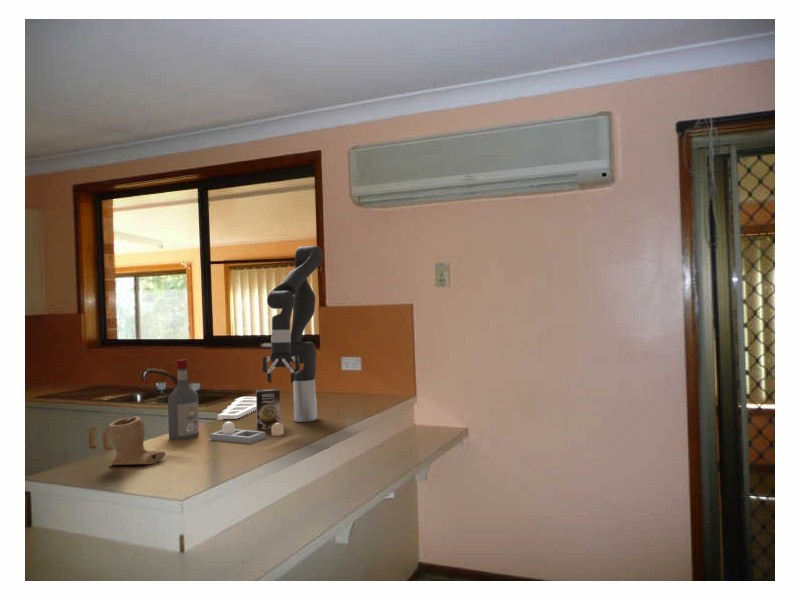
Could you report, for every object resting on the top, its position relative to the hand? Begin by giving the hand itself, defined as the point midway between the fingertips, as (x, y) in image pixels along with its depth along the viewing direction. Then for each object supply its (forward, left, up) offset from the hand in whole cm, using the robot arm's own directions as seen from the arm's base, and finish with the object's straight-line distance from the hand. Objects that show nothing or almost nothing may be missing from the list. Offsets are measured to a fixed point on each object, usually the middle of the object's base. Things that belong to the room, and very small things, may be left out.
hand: (281, 382), depth 224 cm
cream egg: (+21, -9, -17) cm, 28 cm away
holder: (-29, -46, -20) cm, 58 cm away
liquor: (+25, -26, -19) cm, 41 cm away
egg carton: (+21, -4, -19) cm, 28 cm away
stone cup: (+54, -18, -19) cm, 60 cm away
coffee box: (+2, -5, -19) cm, 20 cm away
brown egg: (+11, +6, -19) cm, 23 cm away
